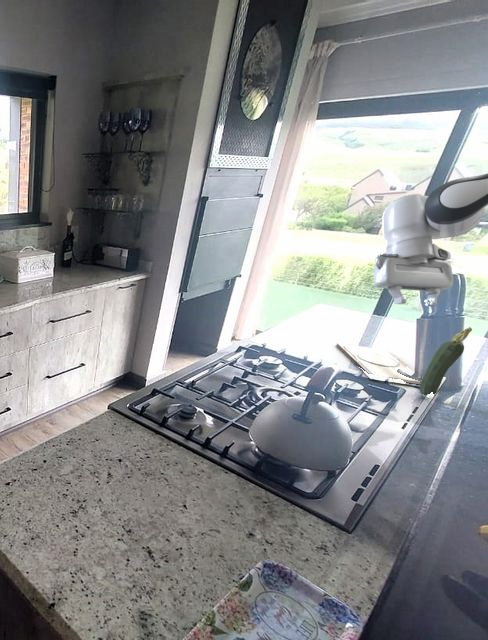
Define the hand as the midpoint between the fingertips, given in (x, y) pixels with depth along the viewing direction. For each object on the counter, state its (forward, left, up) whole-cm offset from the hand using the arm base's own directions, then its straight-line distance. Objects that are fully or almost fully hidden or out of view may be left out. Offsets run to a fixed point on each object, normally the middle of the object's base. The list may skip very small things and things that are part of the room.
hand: (416, 304), depth 107 cm
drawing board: (-5, -10, -22) cm, 25 cm away
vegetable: (-7, +9, -22) cm, 25 cm away
